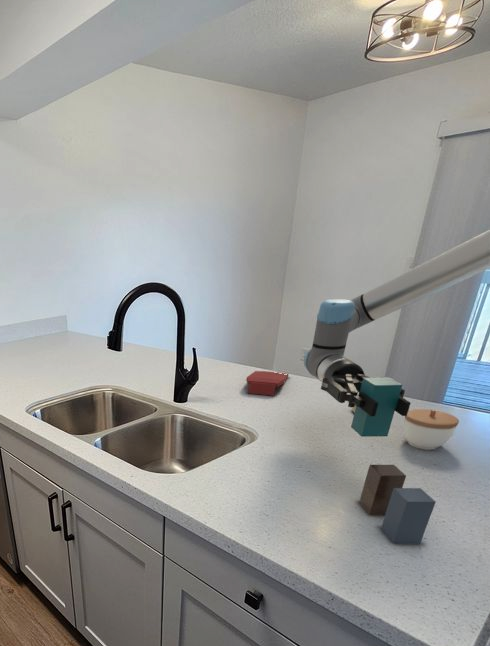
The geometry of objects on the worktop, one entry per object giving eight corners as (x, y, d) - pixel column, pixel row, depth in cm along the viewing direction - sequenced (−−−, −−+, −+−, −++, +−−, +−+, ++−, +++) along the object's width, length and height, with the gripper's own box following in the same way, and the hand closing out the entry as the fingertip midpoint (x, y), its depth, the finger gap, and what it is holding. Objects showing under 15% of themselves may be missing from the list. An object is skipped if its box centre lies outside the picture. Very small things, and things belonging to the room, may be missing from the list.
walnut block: (382, 502, 89) (393, 464, 85) (393, 515, 85) (406, 475, 81) (358, 502, 90) (369, 464, 86) (369, 515, 86) (380, 475, 82)
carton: (253, 383, 174) (242, 392, 153) (255, 370, 172) (244, 378, 151) (286, 386, 168) (279, 396, 147) (288, 373, 166) (281, 382, 146)
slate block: (406, 529, 81) (420, 488, 77) (420, 544, 77) (436, 501, 73) (380, 528, 82) (393, 487, 78) (393, 543, 78) (407, 501, 74)
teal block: (375, 427, 93) (389, 377, 88) (387, 436, 89) (402, 384, 84) (350, 427, 94) (363, 377, 89) (361, 436, 90) (374, 385, 84)
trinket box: (423, 456, 106) (435, 420, 101) (387, 439, 115) (397, 405, 111) (459, 450, 107) (473, 415, 103) (421, 433, 117) (432, 400, 113)
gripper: (376, 389, 105) (435, 427, 84) (298, 390, 107) (336, 427, 86) (384, 358, 101) (448, 390, 81) (303, 360, 103) (345, 391, 83)
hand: (390, 409), depth 84 cm, fingers closed on teal block, 5 cm apart
